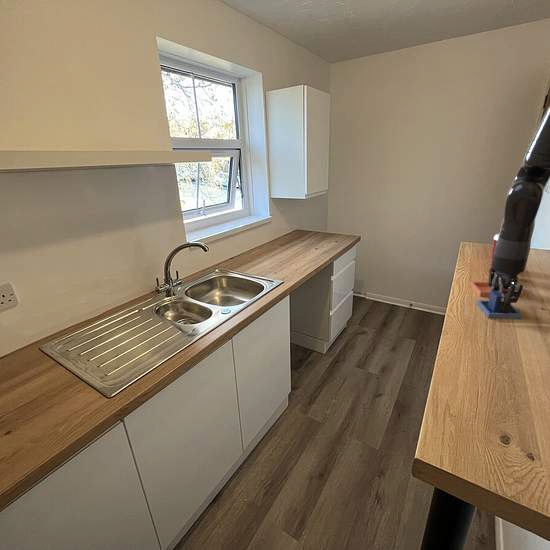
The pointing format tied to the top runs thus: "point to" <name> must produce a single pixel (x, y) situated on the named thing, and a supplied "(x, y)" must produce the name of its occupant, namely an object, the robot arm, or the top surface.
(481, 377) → the top surface
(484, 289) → the terracotta tray
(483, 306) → the slate tray
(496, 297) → the slate pillar
